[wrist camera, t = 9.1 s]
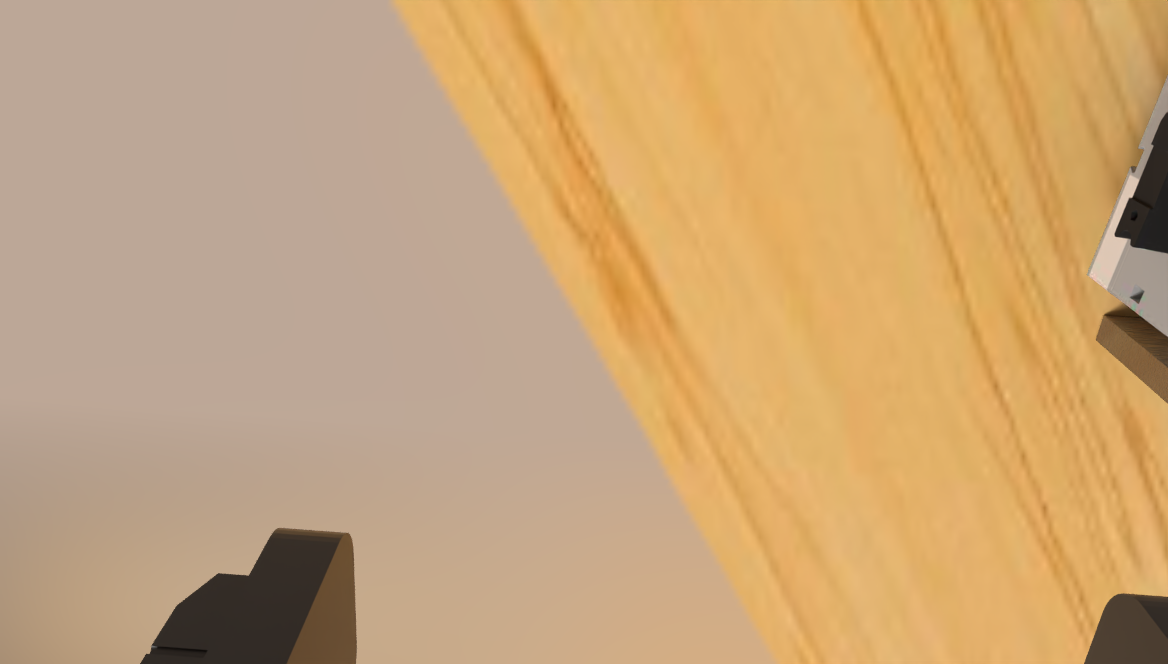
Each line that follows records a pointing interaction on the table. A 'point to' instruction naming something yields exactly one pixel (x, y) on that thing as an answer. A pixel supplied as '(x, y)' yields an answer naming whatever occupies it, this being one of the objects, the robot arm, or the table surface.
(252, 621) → the robot arm
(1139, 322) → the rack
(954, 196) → the table surface
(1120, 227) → the circuit breaker
